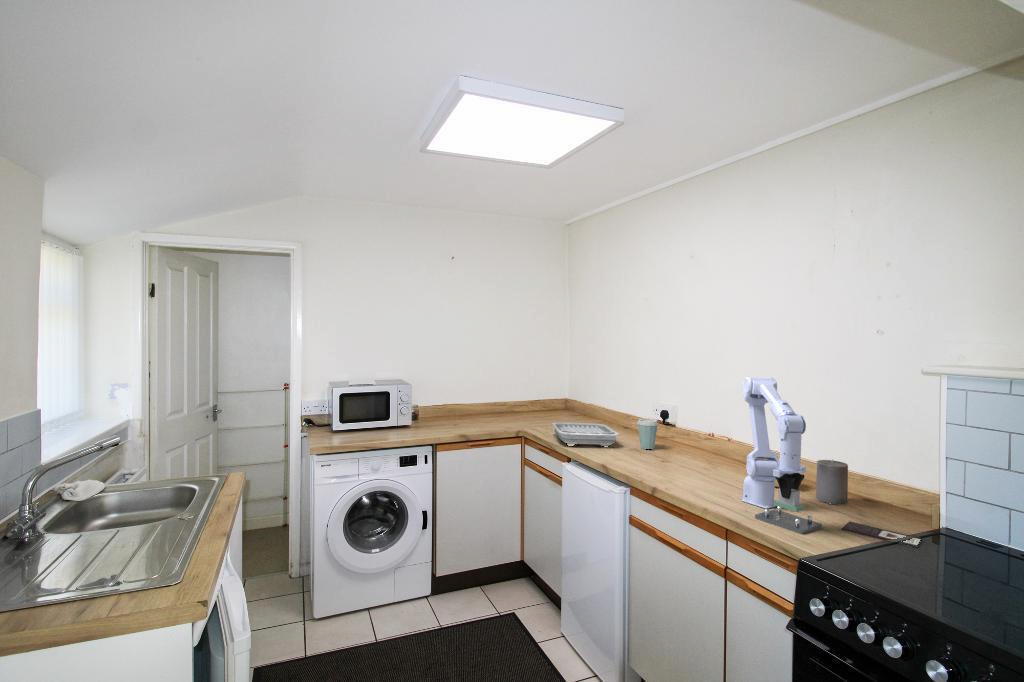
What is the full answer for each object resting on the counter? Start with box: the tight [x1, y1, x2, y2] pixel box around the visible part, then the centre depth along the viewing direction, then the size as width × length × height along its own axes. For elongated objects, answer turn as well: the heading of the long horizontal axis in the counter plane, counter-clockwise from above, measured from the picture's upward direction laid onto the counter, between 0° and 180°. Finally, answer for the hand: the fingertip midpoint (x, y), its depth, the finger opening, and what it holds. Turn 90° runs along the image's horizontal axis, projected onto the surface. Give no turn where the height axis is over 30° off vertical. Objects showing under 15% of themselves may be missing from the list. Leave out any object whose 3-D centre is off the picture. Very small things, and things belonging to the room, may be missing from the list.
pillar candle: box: [815, 459, 849, 505], centre depth 187 cm, size 10×10×15 cm
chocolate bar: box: [841, 521, 922, 549], centre depth 155 cm, size 9×1×18 cm
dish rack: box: [551, 422, 620, 447], centre depth 280 cm, size 32×37×8 cm
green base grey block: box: [774, 487, 805, 513], centre depth 163 cm, size 7×4×6 cm, turn 31°
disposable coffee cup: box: [636, 418, 659, 450], centre depth 266 cm, size 11×11×15 cm
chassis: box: [754, 506, 823, 535], centre depth 163 cm, size 15×11×3 cm
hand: (788, 497), depth 163 cm, fingers closed on green base grey block, 3 cm apart
